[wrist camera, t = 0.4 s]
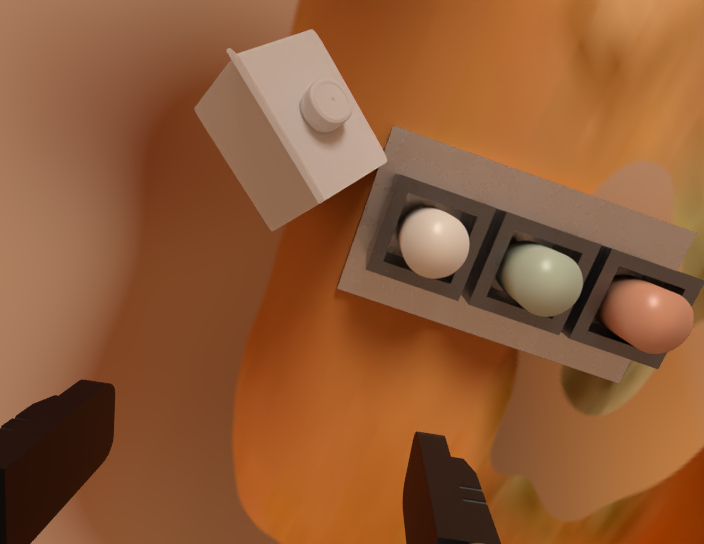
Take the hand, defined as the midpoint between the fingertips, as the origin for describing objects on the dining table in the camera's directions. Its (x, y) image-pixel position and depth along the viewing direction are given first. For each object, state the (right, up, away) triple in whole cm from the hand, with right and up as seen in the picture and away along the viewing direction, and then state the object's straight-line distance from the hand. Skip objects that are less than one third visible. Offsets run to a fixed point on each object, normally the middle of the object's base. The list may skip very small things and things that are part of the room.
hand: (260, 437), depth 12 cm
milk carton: (0, +14, +25) cm, 29 cm away
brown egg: (+23, +2, +23) cm, 33 cm away
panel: (+16, +5, +27) cm, 32 cm away
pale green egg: (+16, +5, +23) cm, 28 cm away
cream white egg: (+8, +7, +23) cm, 25 cm away
